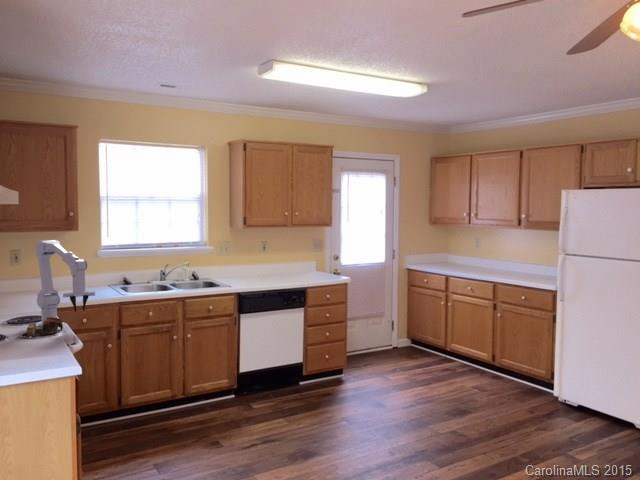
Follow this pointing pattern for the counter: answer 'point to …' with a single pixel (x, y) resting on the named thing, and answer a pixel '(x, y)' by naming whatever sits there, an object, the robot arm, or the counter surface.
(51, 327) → the pottery mug
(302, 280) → the counter surface
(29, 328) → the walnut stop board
